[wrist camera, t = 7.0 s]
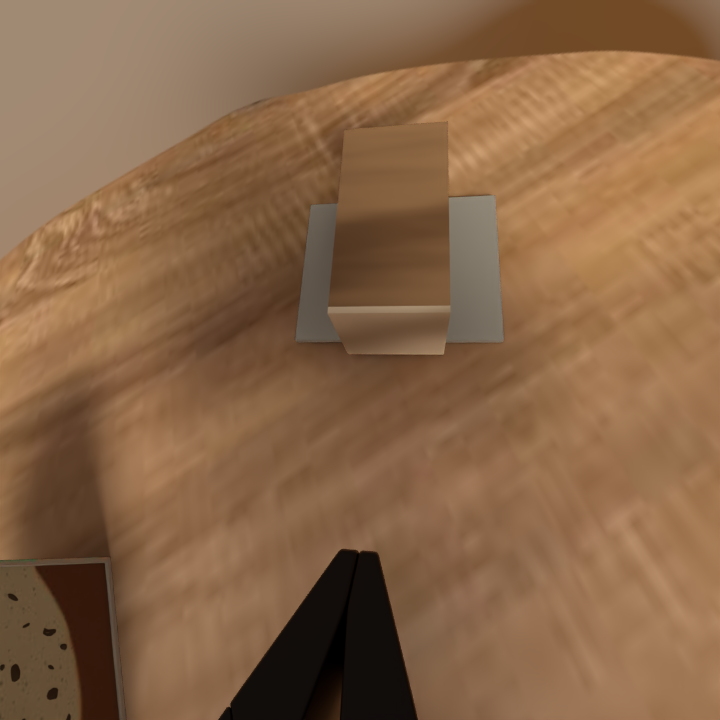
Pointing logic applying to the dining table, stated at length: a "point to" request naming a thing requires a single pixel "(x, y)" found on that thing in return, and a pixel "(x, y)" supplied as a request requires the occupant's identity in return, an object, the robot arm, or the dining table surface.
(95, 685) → the food container
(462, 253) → the mat
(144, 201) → the dining table surface
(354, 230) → the walnut block
